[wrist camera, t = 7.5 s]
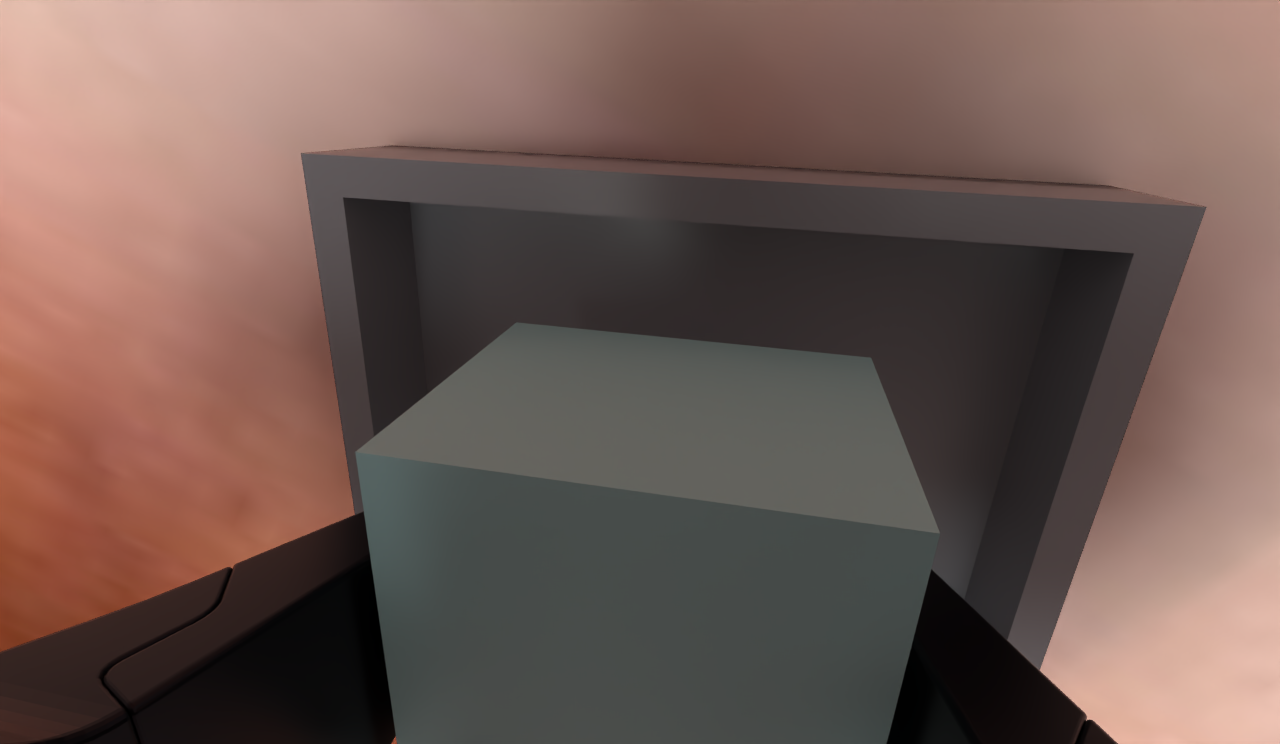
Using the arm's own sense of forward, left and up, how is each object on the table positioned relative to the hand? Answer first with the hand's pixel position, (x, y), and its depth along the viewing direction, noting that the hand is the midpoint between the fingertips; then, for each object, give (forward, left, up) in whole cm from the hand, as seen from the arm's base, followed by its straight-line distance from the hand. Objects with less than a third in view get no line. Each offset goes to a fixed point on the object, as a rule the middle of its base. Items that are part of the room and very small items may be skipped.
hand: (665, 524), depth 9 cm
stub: (0, 0, -1) cm, 1 cm away
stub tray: (0, 0, -4) cm, 4 cm away
